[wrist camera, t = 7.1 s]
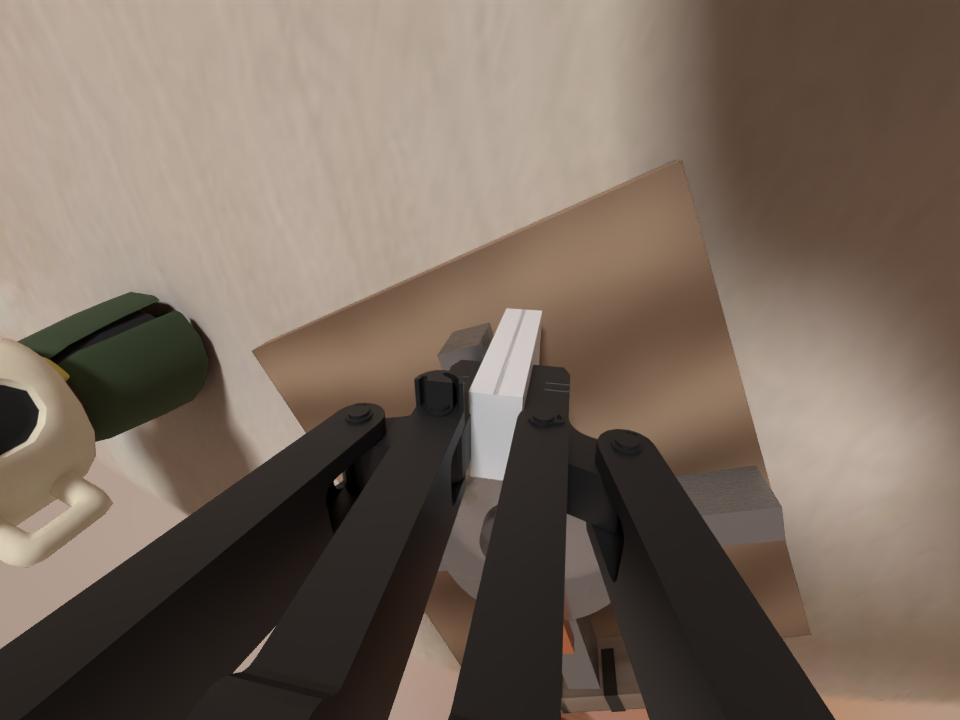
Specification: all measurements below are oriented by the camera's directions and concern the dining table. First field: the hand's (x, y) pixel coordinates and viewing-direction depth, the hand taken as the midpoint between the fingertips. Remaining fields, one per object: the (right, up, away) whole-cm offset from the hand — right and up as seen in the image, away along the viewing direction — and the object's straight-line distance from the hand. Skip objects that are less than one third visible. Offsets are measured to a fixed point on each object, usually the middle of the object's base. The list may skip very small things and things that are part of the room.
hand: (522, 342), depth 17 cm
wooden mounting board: (+1, -7, +6) cm, 9 cm away
